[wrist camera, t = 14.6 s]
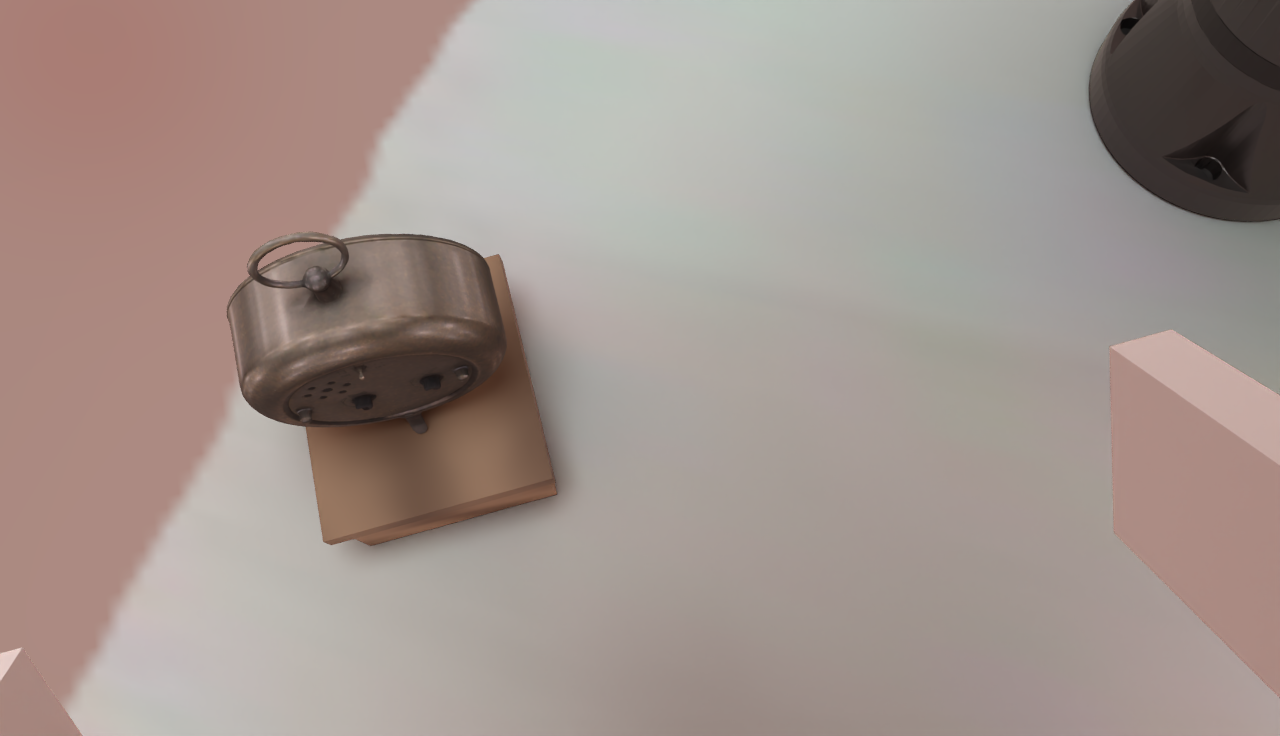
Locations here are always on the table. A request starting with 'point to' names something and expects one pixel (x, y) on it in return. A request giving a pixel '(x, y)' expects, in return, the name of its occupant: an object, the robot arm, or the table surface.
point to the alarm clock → (364, 329)
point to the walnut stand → (437, 455)
